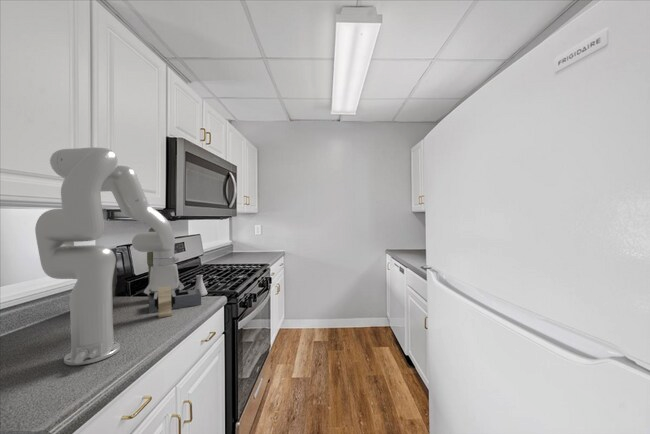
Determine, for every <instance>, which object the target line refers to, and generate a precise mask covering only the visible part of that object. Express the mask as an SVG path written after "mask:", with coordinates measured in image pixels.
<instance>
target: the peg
mask: <svg viewBox="0 0 650 434" xmlns="http://www.w3.org/2000/svg"><path fill="white" fill-rule="evenodd" d="M158 307H159V311H158V318H165V317H172V313H173V312H172V311H173V309H172V307H171V286H166V287H158Z"/></svg>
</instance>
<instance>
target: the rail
mask: <svg viewBox="0 0 650 434" xmlns="http://www.w3.org/2000/svg"><path fill="white" fill-rule="evenodd" d="M171 296H172V293H171ZM148 300H149V302H148V313H149V314H150V313H156V312H158V313H159V309H157V307H155V299H154V298H152V297H151V296H150V298H149V299H148ZM201 305H202V296H201V292H200V290H199V289H188V290H181V291H179V293H178V294H177V295H176V296H175V304H173V307H172V310H176V309H183V308H189V307H196V306H201Z"/></svg>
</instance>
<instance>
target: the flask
mask: <svg viewBox="0 0 650 434" xmlns="http://www.w3.org/2000/svg"><path fill="white" fill-rule="evenodd" d="M203 276H204V275H203V274H198V275H195V278H196V282H195V285H194V289H199V290H200V292H201V297H204V296H207V295H208V290H207V288H206V286H205V284H204V281H203V280H204V279H203ZM194 289H193V290H194Z"/></svg>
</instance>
